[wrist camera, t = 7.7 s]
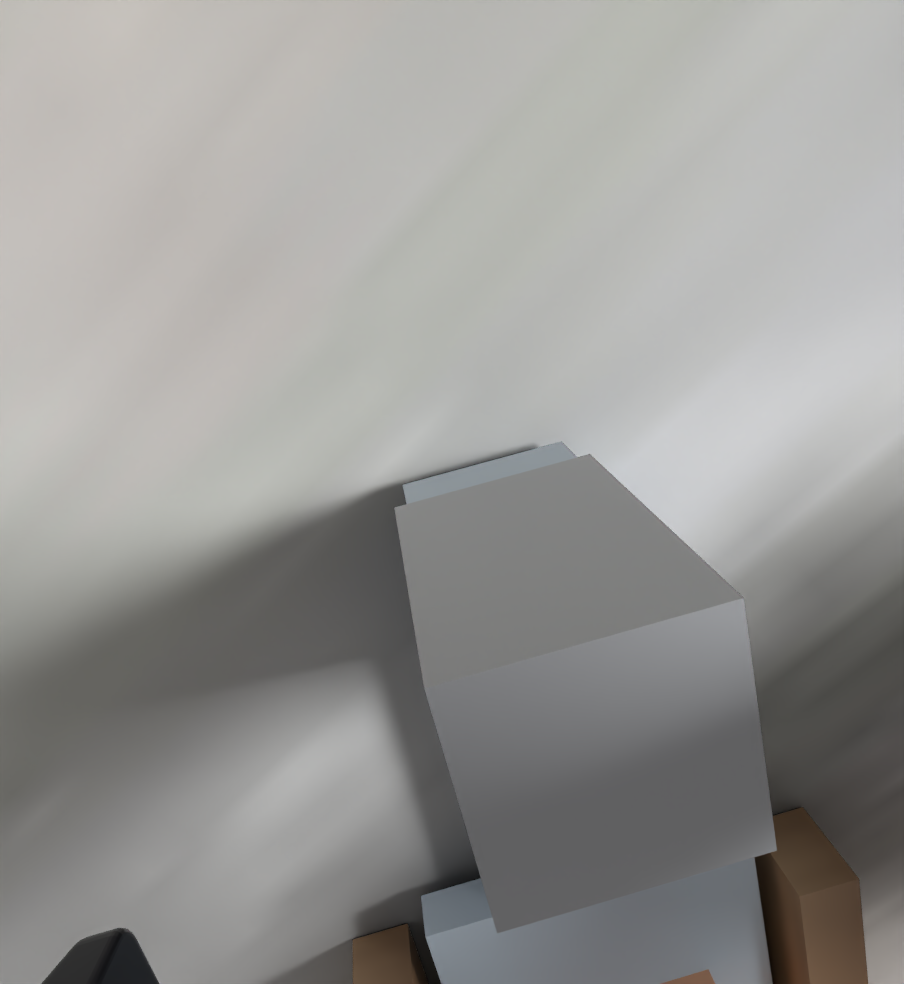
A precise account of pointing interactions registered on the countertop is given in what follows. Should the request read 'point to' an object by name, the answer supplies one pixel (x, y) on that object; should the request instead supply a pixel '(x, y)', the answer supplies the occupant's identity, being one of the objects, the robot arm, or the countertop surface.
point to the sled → (586, 731)
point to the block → (694, 979)
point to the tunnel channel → (785, 904)
